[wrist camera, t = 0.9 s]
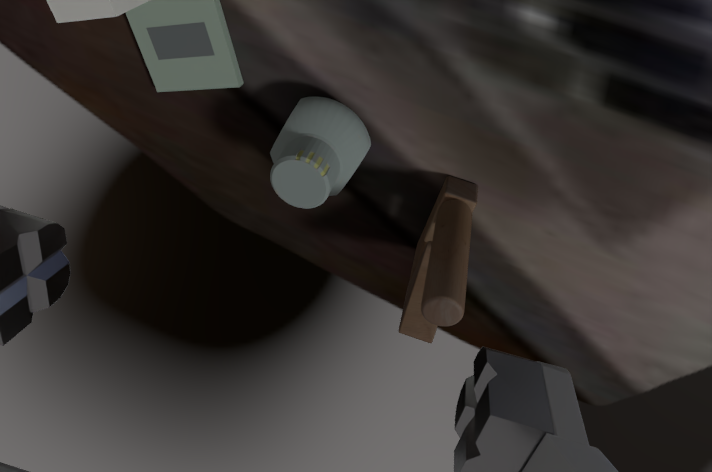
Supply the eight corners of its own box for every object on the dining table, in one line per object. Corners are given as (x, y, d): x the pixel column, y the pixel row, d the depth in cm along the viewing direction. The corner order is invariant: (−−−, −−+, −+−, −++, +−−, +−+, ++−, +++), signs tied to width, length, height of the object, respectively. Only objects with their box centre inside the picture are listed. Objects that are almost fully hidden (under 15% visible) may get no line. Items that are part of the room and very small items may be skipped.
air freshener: (336, 188, 58) (311, 241, 50) (275, 149, 56) (239, 198, 49) (385, 118, 51) (365, 168, 43) (317, 72, 49) (283, 116, 42)
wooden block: (416, 244, 60) (391, 364, 47) (447, 173, 53) (427, 290, 40) (445, 253, 60) (428, 376, 46) (479, 184, 53) (471, 305, 39)
